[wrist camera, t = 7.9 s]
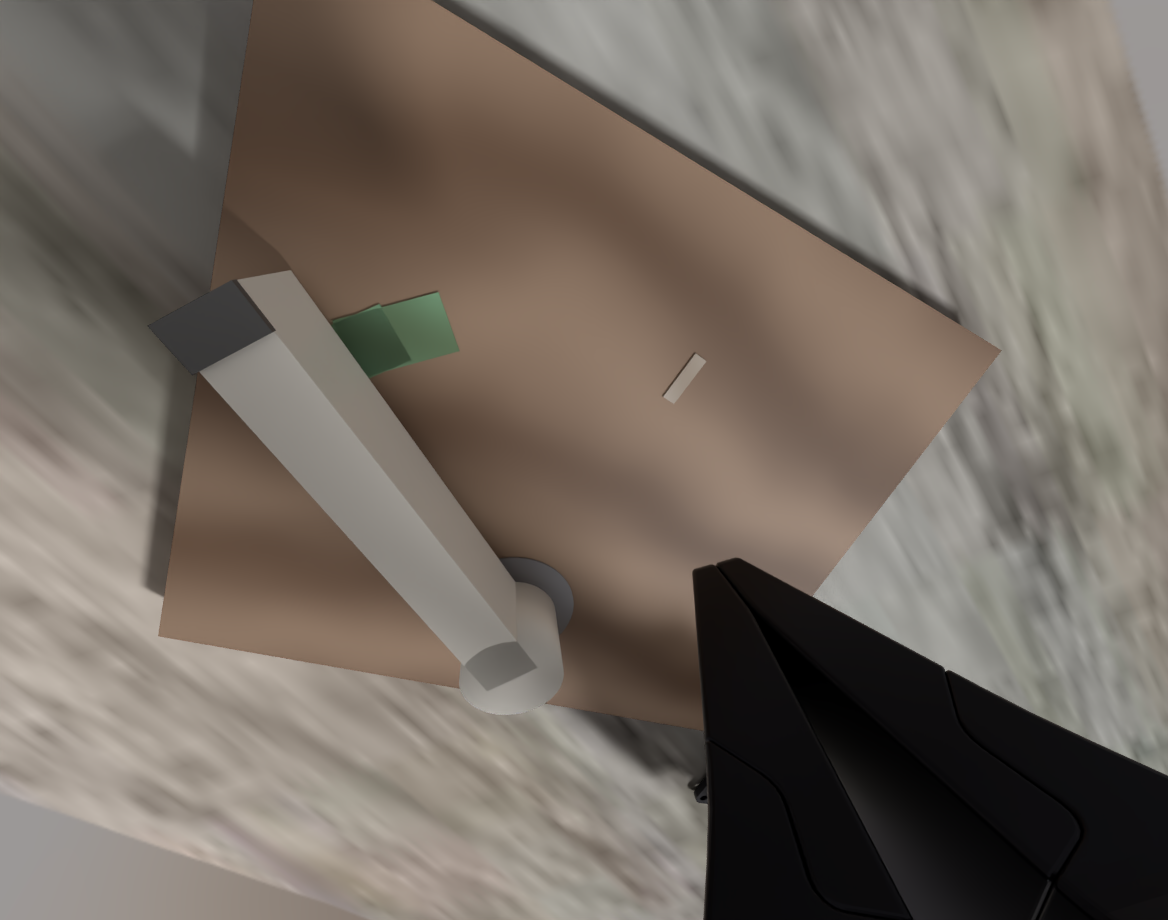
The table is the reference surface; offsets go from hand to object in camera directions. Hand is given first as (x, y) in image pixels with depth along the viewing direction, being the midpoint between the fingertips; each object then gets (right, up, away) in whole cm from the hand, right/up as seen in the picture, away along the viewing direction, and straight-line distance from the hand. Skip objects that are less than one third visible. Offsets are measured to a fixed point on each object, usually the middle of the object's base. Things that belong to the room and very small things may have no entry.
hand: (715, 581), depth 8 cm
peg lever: (-8, +1, +8) cm, 11 cm away
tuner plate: (-3, +2, +11) cm, 11 cm away
